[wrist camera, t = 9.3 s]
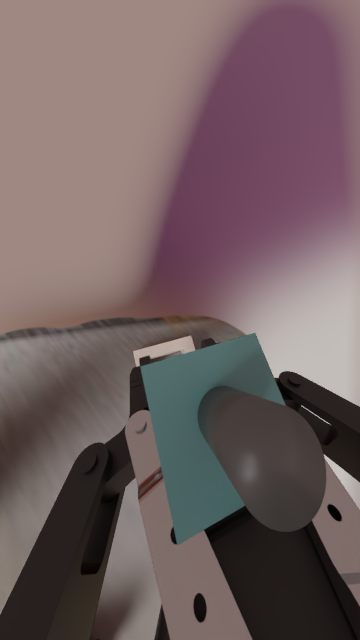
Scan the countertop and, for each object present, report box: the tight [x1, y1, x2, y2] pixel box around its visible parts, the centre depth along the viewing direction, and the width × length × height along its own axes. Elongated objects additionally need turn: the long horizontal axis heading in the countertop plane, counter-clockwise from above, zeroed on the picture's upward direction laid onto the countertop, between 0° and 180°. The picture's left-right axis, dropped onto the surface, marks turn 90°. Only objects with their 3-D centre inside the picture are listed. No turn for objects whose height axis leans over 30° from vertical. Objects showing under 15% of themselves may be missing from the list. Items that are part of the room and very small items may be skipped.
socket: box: [133, 336, 195, 367], centre depth 22 cm, size 9×9×4 cm
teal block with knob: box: [140, 333, 326, 545], centre depth 8 cm, size 4×4×13 cm
